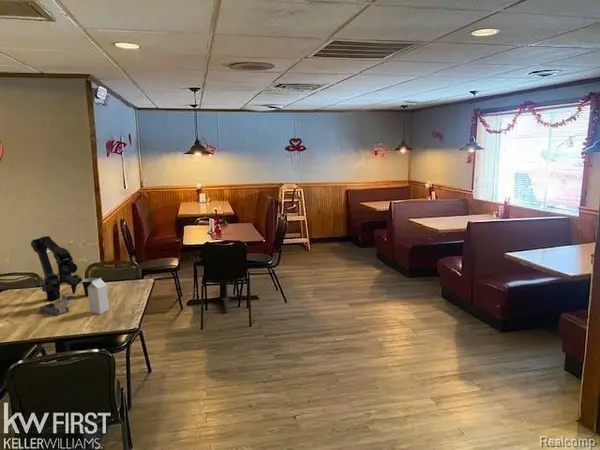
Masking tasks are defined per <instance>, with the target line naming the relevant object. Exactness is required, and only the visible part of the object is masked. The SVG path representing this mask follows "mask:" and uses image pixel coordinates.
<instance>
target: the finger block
mask: <svg viewBox="0 0 600 450" xmlns="http://www.w3.org/2000/svg"><path fill="white" fill-rule="evenodd" d="M61 300H63V301H65V306H69V305H72V304H73V303H74V302H73V293H68V292H67V293H64V294H61Z"/></svg>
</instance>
